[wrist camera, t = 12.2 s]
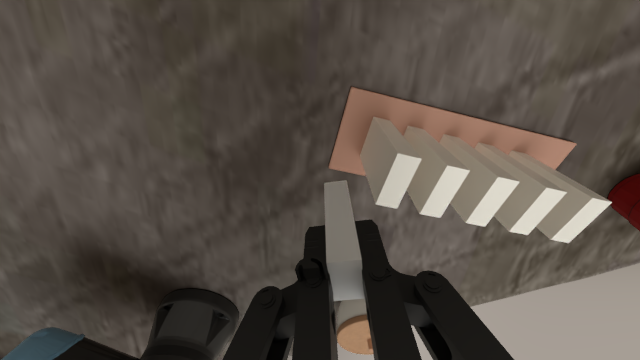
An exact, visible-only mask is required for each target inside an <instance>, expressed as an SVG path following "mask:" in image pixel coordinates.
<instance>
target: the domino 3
mask: <svg viewBox="0 0 640 360" xmlns="http://www.w3.org/2000/svg"><path fill="white" fill-rule="evenodd" d="M439 143H440V144H441V145H442V146H443V147H444V148H445V149H447V150H448V151H449V152H450V153H451V154H452V155H453V156H454V157H456V158H457V159H458V160H459V161H460V162H461V163H462V164H463V165H465V166H466V167H467V168H468V169H469V170H470V172H469V173H468V175H467V177H466V178H465V180H464V181H463V183H462V184H461V186H460V188H459V189H458V191H457V192H456V194H455V195H454V197H453V199H452V200H451V202H450V204H451V205H452V206H453V208H454V209H455V210H456V212H457V213H458V214H459V215H460V217H461V218H462V219H463V221H464V222H465V223H469V224H474V225H479V226H484V227H485V226H486V225H487V223H488V222H489V221H490V220H491V218H492V217H493V216H494V214H495V213H496V212H497V211H498V209H499V208H500V207H501V205H502V204H503V203H504V202H505V200H506V199H507V198H508V197H509V195H510V194H511V193H512V191H513V190H514V189H515V188H516V186H517V185H518V184H519V182H520V181H518V180H517V179H516V178H514V177H513V176H511V175H510V174H509V173H507V172H506V171H505V170H503V169H502V168H500V167H499V166H498V165H496V164H495V163H493V162H492V161H491V160H489V159H488V158H487V157H485V156H484V155H482V154H481V153H480V152H478V151H477V150H475V149H474V148H473V147H471V146H470V145H469V144H467V143H466V142H464V141H463V140H462V139H460V138H458V137H454V136H450V135H446V134H443V136H442V138H441V140H440V142H439Z"/></svg>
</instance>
